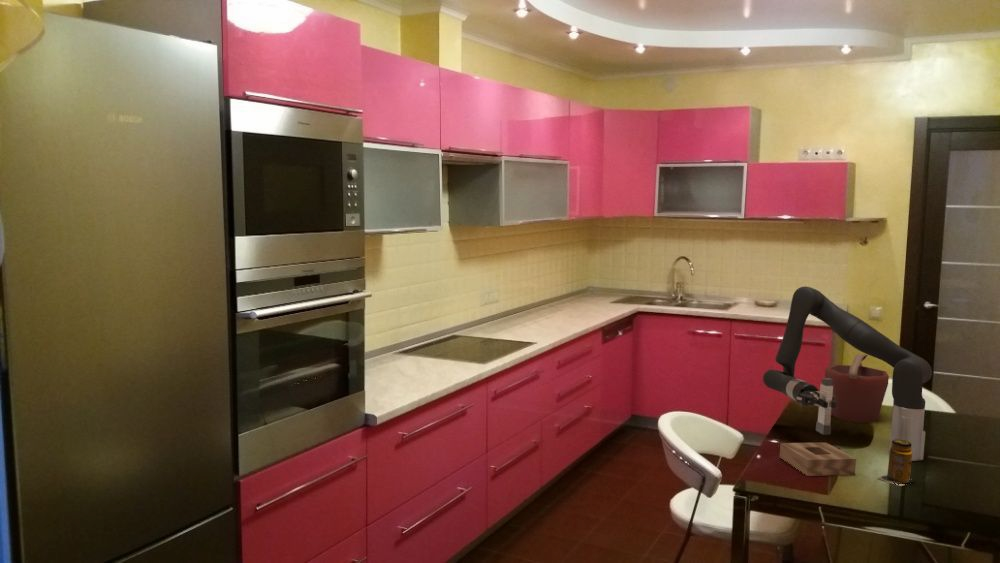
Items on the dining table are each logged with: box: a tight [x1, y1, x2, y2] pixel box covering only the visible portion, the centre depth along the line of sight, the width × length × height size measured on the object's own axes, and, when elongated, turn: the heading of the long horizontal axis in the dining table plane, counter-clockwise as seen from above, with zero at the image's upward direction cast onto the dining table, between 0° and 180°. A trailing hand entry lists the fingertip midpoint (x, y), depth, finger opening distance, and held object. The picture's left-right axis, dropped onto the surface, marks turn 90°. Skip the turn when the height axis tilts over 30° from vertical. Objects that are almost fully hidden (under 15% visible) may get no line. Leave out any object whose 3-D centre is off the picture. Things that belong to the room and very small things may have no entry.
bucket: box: [824, 353, 890, 424], centre depth 293 cm, size 24×22×25 cm
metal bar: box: [815, 377, 833, 436], centre depth 244 cm, size 3×4×18 cm, turn 8°
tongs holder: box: [779, 441, 857, 477], centre depth 235 cm, size 16×16×5 cm
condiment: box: [877, 439, 913, 487], centre depth 224 cm, size 7×8×12 cm
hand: (830, 405), depth 241 cm, fingers closed on metal bar, 2 cm apart
